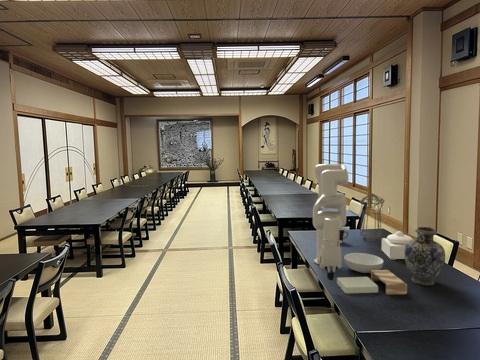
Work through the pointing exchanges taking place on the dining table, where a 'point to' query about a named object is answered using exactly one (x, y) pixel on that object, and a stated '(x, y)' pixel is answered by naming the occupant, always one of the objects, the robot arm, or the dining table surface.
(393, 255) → the butter dish
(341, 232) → the coffee mug
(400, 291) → the overhang
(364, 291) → the pale green flat slab
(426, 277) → the decorative vase
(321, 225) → the robot arm
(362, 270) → the serving bowl
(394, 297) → the dining table surface
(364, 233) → the geometric lantern
